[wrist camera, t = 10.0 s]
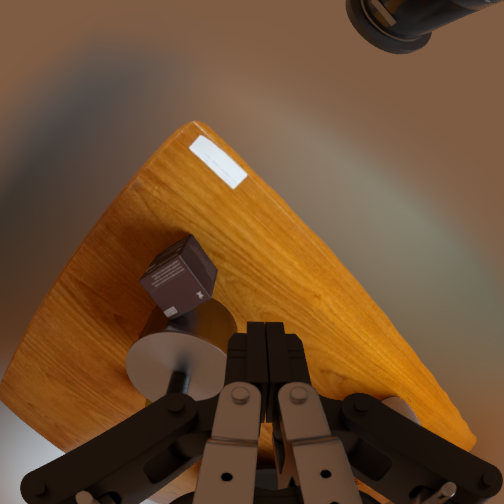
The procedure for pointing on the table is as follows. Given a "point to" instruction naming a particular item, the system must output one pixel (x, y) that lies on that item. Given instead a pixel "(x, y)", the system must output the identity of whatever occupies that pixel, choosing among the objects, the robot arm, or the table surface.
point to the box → (180, 278)
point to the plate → (266, 477)
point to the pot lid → (176, 365)
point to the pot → (197, 322)
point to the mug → (401, 408)
